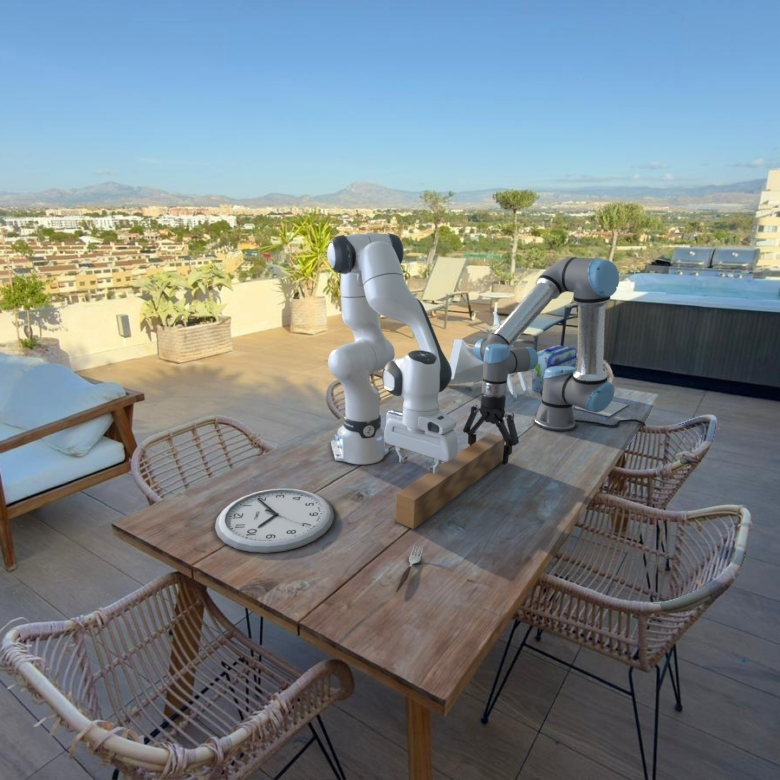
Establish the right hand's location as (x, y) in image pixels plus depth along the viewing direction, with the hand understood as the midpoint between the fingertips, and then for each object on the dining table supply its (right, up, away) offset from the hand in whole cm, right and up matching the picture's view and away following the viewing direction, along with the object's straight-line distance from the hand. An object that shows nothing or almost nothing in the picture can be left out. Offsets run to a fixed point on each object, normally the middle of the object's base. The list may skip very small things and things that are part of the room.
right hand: (488, 458), depth 169 cm
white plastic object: (+10, +21, +74) cm, 77 cm away
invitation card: (+60, +15, +57) cm, 84 cm away
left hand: (-25, +2, -35) cm, 43 cm away
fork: (-28, -18, -53) cm, 63 cm away
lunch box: (+45, +22, +79) cm, 94 cm away
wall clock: (-62, -11, -33) cm, 71 cm away
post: (-13, -7, -15) cm, 21 cm away
